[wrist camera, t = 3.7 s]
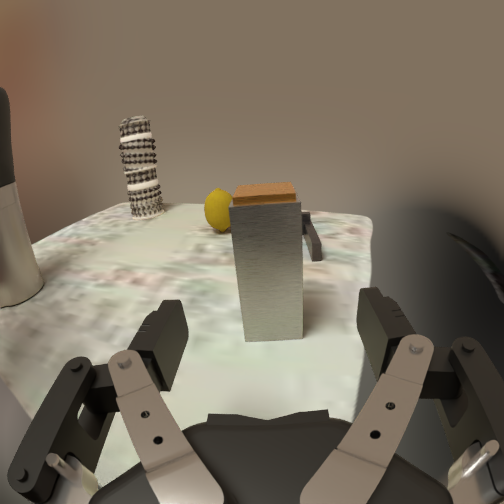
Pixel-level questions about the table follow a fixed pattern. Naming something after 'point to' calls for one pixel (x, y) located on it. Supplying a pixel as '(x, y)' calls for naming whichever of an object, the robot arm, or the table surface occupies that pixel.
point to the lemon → (218, 209)
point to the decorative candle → (140, 168)
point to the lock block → (268, 260)
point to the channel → (311, 237)
